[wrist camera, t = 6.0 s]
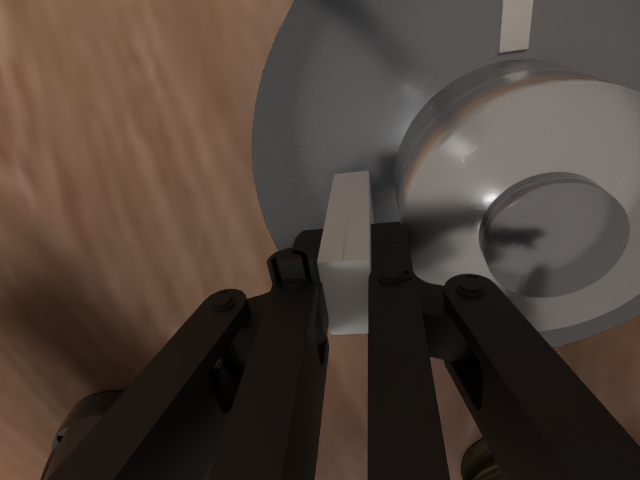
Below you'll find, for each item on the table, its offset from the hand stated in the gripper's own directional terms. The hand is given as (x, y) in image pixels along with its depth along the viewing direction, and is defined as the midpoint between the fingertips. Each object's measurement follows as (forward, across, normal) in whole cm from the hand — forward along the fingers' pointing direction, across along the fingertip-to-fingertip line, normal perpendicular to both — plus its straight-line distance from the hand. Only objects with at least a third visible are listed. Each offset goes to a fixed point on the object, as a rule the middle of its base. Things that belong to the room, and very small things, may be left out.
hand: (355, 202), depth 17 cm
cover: (+1, +6, 0) cm, 6 cm away
